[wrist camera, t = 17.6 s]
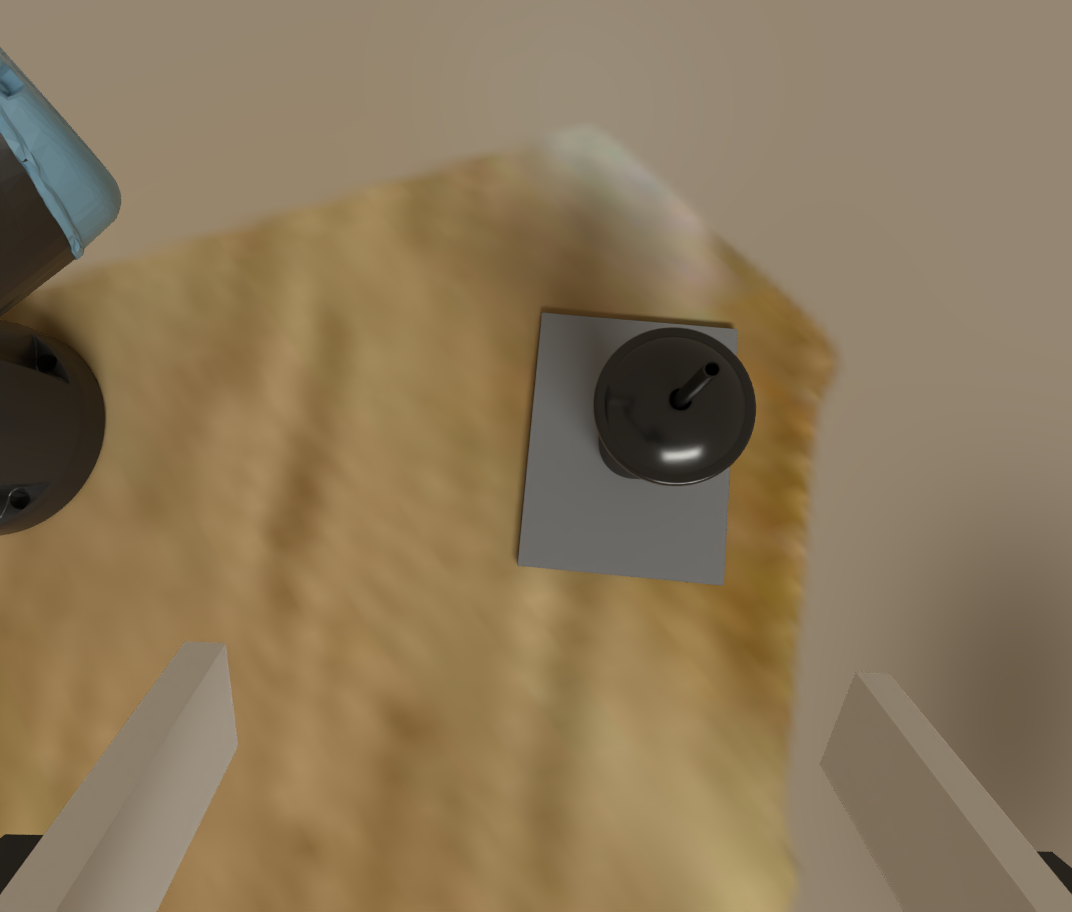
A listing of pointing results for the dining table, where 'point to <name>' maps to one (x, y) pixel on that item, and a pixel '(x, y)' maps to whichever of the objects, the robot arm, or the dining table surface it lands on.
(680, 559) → the placemat
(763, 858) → the dining table surface
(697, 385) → the drinking cup
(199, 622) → the dining table surface
